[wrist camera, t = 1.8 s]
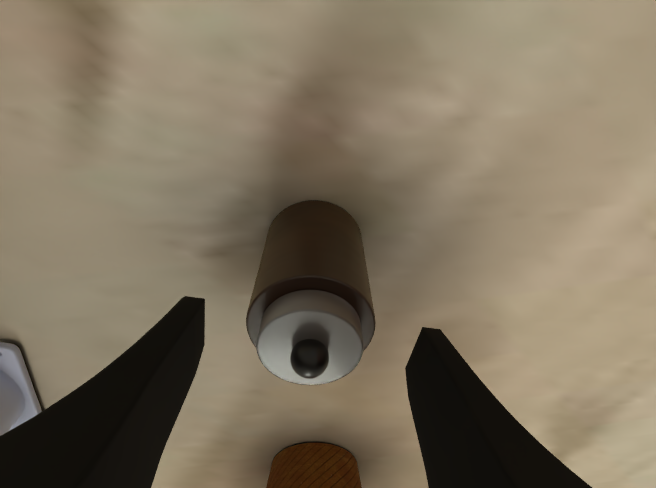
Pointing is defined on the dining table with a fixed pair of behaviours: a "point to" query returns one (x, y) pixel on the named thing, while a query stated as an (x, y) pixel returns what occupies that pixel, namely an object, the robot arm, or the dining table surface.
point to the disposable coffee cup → (314, 467)
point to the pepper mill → (311, 296)
